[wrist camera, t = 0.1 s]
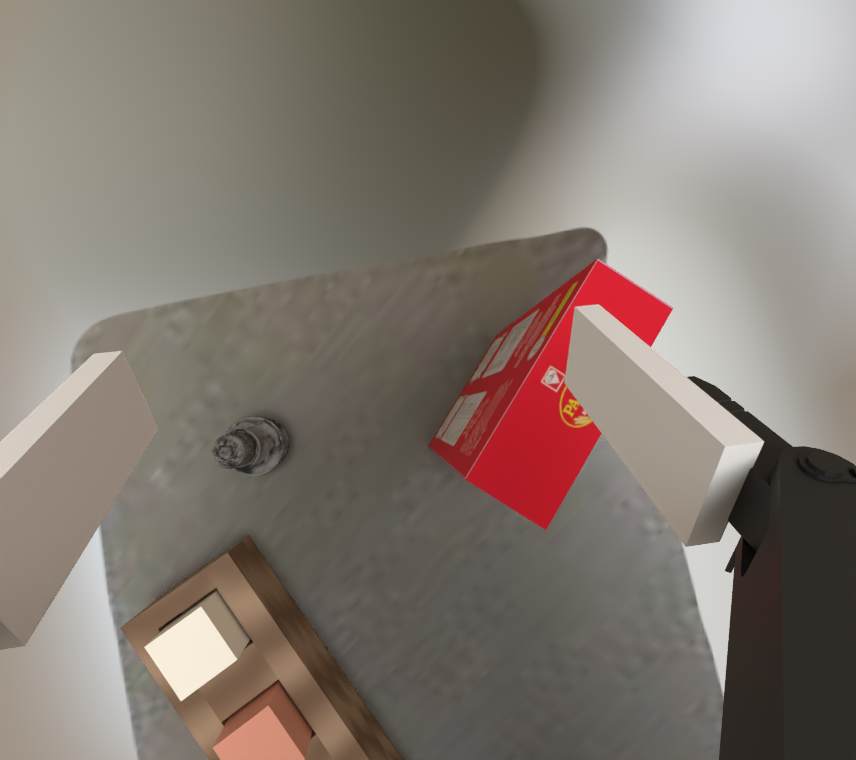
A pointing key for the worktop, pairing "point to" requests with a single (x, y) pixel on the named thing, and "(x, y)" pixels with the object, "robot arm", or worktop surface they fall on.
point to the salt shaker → (251, 446)
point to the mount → (263, 660)
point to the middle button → (265, 729)
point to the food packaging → (537, 397)
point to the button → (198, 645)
